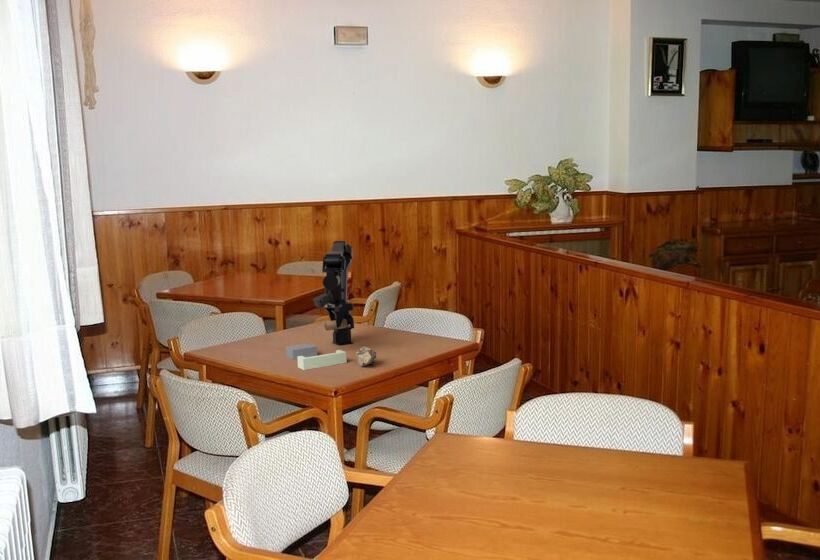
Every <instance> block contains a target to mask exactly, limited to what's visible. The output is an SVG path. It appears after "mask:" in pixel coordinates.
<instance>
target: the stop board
mask: <svg viewBox="0 0 820 560" xmlns="http://www.w3.org/2000/svg"><path fill="white" fill-rule="evenodd" d="M317 355H318V354H317ZM296 360H297V368H299V369H301V370H302V371H306V370H312V369H317V368H318V369H319V368H325V367H330V366H337V365H341V364H347V362H348V361H347V360H348V359H347V351H344V350H342V349H337V350H335V352H332V353H326V354H319V355H318V356H312V357H306V358H305V357H303V356H297V359H296Z"/></svg>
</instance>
